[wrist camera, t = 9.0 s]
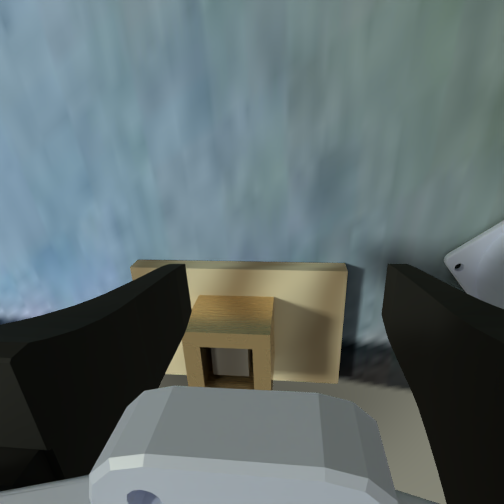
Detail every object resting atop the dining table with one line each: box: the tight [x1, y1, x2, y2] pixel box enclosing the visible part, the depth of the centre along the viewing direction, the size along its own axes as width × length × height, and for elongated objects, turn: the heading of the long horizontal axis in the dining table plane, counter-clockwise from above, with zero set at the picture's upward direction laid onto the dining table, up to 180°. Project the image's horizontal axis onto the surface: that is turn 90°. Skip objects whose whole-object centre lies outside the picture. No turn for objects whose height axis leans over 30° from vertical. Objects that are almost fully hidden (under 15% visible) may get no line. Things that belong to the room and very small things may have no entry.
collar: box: [182, 295, 275, 390], centre depth 21 cm, size 5×5×4 cm
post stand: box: [130, 260, 348, 384], centre depth 22 cm, size 14×9×4 cm, turn 92°
